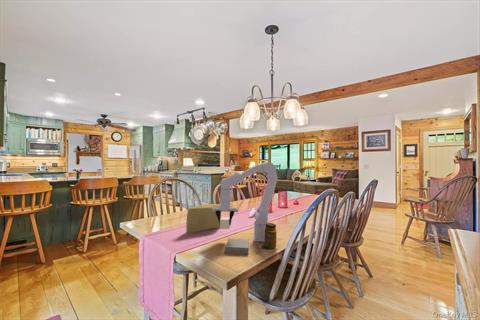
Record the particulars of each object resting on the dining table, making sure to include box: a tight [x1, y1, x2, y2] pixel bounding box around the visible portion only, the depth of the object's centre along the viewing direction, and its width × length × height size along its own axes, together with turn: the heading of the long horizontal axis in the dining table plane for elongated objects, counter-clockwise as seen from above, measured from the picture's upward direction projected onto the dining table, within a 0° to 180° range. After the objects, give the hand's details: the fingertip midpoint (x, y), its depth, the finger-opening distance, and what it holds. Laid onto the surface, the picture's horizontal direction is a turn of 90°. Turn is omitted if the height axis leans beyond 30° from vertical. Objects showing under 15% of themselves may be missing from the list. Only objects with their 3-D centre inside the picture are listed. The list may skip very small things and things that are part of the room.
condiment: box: [258, 222, 280, 253], centre depth 114 cm, size 7×8×12 cm
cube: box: [219, 216, 231, 230], centre depth 123 cm, size 5×5×5 cm
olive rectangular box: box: [185, 203, 220, 234], centre depth 141 cm, size 22×10×15 cm, turn 130°
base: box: [225, 238, 250, 255], centre depth 112 cm, size 11×11×3 cm
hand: (225, 224), depth 123 cm, fingers closed on cube, 5 cm apart
